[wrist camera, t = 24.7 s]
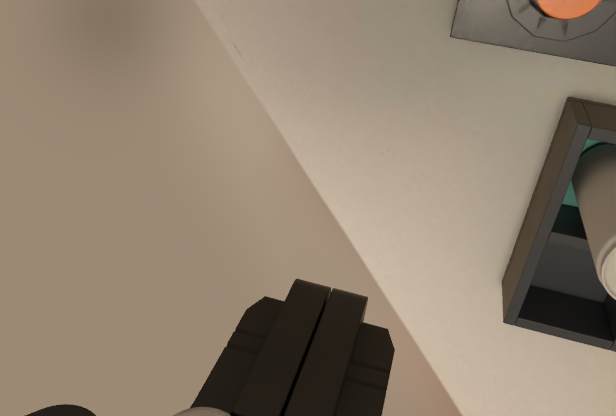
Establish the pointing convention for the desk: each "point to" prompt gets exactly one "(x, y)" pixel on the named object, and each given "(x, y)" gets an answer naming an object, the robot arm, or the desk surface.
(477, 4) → the panel
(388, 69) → the desk surface
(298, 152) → the desk surface
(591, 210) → the beverage can
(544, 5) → the button
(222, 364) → the robot arm
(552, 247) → the divided tray
